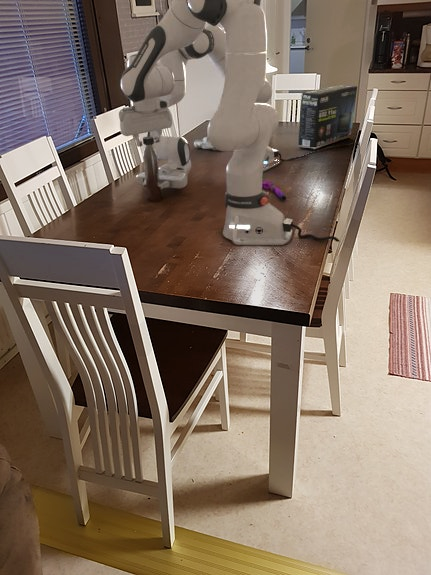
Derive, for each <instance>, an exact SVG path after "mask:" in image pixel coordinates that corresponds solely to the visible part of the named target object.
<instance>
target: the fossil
mask: <svg viewBox="0 0 431 575" xmlns="http://www.w3.org/2000/svg"><path fill="white" fill-rule="evenodd" d="M193 145H194V147H195V148H197V149H204V150H212V151H214V152H215V151H218V150H217V149H216V148H214V147H213V146H212V144H211V143H210V141H209V138H208V134H207V135H206V136H204V137H203V138H202V139H196V140H195V141H194V142H193Z"/></svg>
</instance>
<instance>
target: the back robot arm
mask: <svg viewBox="0 0 431 575" xmlns="http://www.w3.org/2000/svg"><path fill="white" fill-rule="evenodd" d="M225 48H226V34H225V30H223V28H221V27H220V26H219V25H218V24H217V25H216V26H212V25H210V24H208V25H207V26H205V27H204V29H203V31H202V33H201V35H200V36H199V37H198V38H197V40H196V41H195V42H194V43H193V44H191V45H189V46H187V47H183V48H180V49H177V50H174V51H172V52H169V53H167V54H165V55H164V56H162V57H161V58H160V59H159V60H158V61H157V62H158V63H159V64H161V65H165V66H167V67H168V68H169V69H170V70H171V71H172V73H173V76H174V88H173V90H172V92H171V93H170V94H168V95H166V96H161V97H157V98H159V99H161V100H165V101H168V102H169V107H168V108H170V107H172V106H174V105H177V104H178V103H180V102H182V100H183V98H185V95H186V92H187V91H186V90H187V79H186V78H187V76H186V66H187V64H188V62H189V60H198V59H202V58H204V57H207V58H208V59H209V61H210V62H211V63H212V65H213V66H214V67H215V69H216V70H217V72H218V73H219V74H220V76H222V78H223V79H225ZM272 95H273V86H272V84H271V82H270V81H268V79H267V78H266V79H265V84H264V86H263V88H262V89H261V91H260V92H259V94H258V96H257V98H256V101H255V103H263V104H268V102H269V101H270V100H271V98H272V97H273V96H272ZM156 135H157V132H156V131H151V132H146V137H148V136H151V137H153V138H154V137H156ZM154 140H155V139H154ZM355 142H356V141H355ZM152 145H153V147H154V149H155V151H156V153H157V159H158V161H167V162H166V163H164V164H163V165H161V166H159V167H158V169H159V178H160V184H158V188H159V189H161V190H163V189H166V188H168V189H169V188H170V189H183V188H185V187H186V186H188V181H189V180H188V179H189V178H188V175H189V173H190V171H191V169H192V161H191V148H190V145H189V143H188V141H187V140H186V138H184V137H183V136H166V135H161V137H160V142H158V143H155V141H154V144H152ZM351 145H353V144H351ZM351 145H350V146H351ZM354 145H356V146H359V145H360V144H359V143H358V142H356V143H355V144H354ZM314 151H315V152H313V151H311V152H312V153H310V152H308V153H309V154H308V153H306V154H307V155H305V154H303V155H304V156H302V155H300V156H301V157H299V156H295V157H296V158H294V157H292V158H288V159H284V158H282V153H280V152H279V150H277V149H274V148H271V147H270V146H268V149H267V152H266V156H265V160H264V165H263V167H264V168H263V172H267V171H268V170H270V169H272V168H273V167H276V166H277V165H280V161H281V162H288V161H290V162H291V161H295V160H298V159H302V158H305V157H308V156H311V155H313V154H315V153H318V152H317V151H316V150H314ZM278 157H279V160H280V161H279V162H278V163H276V164H274V165H272V166H270V167H269V166H268V167H266V165H267V164H269V163H271V162H273V161H277V160H278V159H276V160H274V159H275V158H278ZM280 158H282V159H280ZM265 167H266V168H265ZM135 177H136V178H135V180H136V183H137V185H140V186H142V187H143V188H147V187H146V178H145V171H143V172H140V173H139V174H137V175H136V176H135Z"/></svg>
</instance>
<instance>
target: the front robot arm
mask: <svg viewBox="0 0 431 575" xmlns="http://www.w3.org/2000/svg"><path fill="white" fill-rule="evenodd" d="M261 2H262V0H172V1H171V3H170V5H169V7H168V9H167V11H166V12H165V14H164V15H163V17H162V18H161V19H160V20H159V22H158V23H157V24H156V25H155V26H154V27H153V28H152V29H151V31H149V33H148V35H147V36H146V38H145V39H144V41H143V43H142V44H141V46H140V48H139V50H138V51H137V53H135V54H132V55H130V56H129V57H128V59H127V67H126V68H125V69H124V71H123V73H122V74H121V77H120V89H121V92H122V93H123V95H124V96H125V97H126V98H127V99H128V100H129V101H131V106H128V107H127V106H126V107H122V108H121V109H120V110H119V112H118V118H119V131H120V134H121V135H122V136H124V137H130V136H132V138H133V139H134V141H135V143H136V147H138V148H139V147H143V140H140V139H139V138H140V137H139V136H140V134H145V133H146V134H147V132H151V131H156V132H157V135H156V137H154V139H155V140H154V141H155V143H158V142H160V137H161V136H162V133H163V130H164V129H170V128H172V126H173V117H172V112H171V109H170V107H169V102H168V101H165V100H161V99H159V98H157V97H161V96H166V95H168V94H170V93H171V92H172V90H173V88H174V76H173V73H172V71H171V70H170V69H169V68H168V67H167V66H165V65H161V64H159V63H158V62H157V61H158V60H159V59H160V58H161V57H162V56H164V55H165V54H167V53H169V52H172V51H174V50H177V49H180V48H183V47H187V46H189V45H191V44H193V43H194V42H195V41H196V40H197V38H198V37H199V36H200V35H201V33H202V31H203V29H204V28H205V27H206V25H207V24H208V25H212V26H216V25H217V26H218V25H221V27H222V29H224V30H223V31H224V32H225V34H226V48H225V78H224V84H223V89H222V94H221V97H220V101H219V104H218V106H217V109H216V110H215V113H214V115H213V116H212V117H211V119H210V120H209V122H208V124H207V128H206V129H207V130H206V132H207V135H208V138H209V141H210V143H211V144H212V146H213V147H214V148H216V149H217V150H216V151H219V152H232V151H233V154H232V156H231V158H230V160H229V161H228V162H227V164H226V168H225V177H226V178H225V179H226V180H225V181H226V182H225V183H226V190H225V194H224V205H225V209H226V210H225V218H224V219H225V220H224V226H223V229H222V235H223V237H225V239H228V240H230V241H232V243H233V244H234V245H236V246H283V245H286V244H288V243H289V242H290V240H291V239H292V237H293V228H294V229H296V230H297V237H298V238H300V239H306V238H312V239H313V240H316V241H320V242H321V241H328V240H334V241H335V242H338V243H339V242H340V239H339V238H338V237H336V236H334V235H330V236H323V237H318V236H316V235H315V234H310V233H307V234H302V228H301V227H300V226H299V225H297V224H294V218H285V215H284V213H283V212H282V211H280V210H279V209H278V208H277V207H276V206H275V205H272V204H271V203H270V202H269V194H270V192H269V191H267V192H266V191H265V190H263V187H262V182H263V175H264V174H263V173H264V171H263V165H264V160H265V156H266V152H267V149H268V147H270V146H269V145H270V143H271V140H272V138H273V137H274V135H275V133H276V132H277V130H278V128H279V124H280V118H279V114H278V112H277V110H276V108H275V107H273V106H272V105H271V104H268V103H265V104H263V103H255V101H256V98H257V96H258V94H259V92H260V91H261V89H262V88H263V86H264V84H265V79H266V80H267V78H266V76H267V57H268V56H267V54H268V53H267V52H268V31H267V22H266V14H265V11H264V9H263V8H262V7H261Z"/></svg>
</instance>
